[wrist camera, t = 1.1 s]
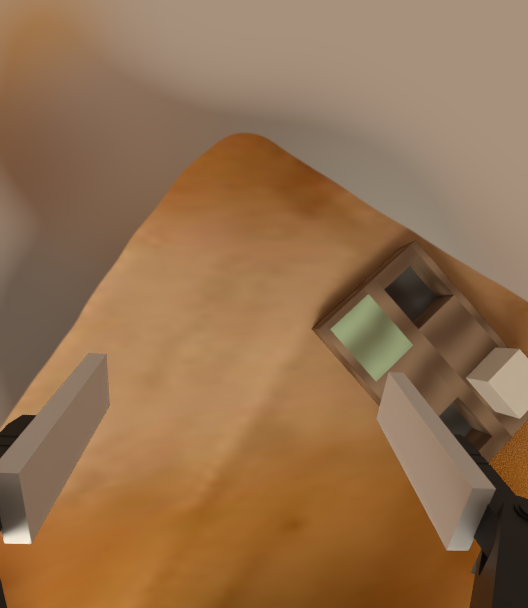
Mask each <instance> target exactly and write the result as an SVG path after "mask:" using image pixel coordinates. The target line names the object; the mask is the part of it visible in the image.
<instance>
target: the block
mask: <svg viewBox="0 0 528 608" xmlns="http://www.w3.org/2000/svg"><path fill="white" fill-rule="evenodd" d="M466 379H467V380H468V381H469V382H470V383H471V385H472V386H473V387H474V388H475V389H476V390H477V391H478V393H479V394H480V395H481V396H482V397H483V398H484V399H485V401H486V402H487V403H488V404H489V405H490V406H491V407H492V409H493V410H494V411H495V412H498V413H502V414H505V415H508V416H512V417H515V418H519V419H520V418H521V417H522V416H523V415H524V414H525V413H526V412H527V411H528V358H527V357H526V356H525V354H524V353H523V352H522V351H521V350H520V349H513V348H494V349H493V350H492V351H491V352H490V353H489V354H488V355H487V357H486V358H485V359H484V360H483V361H482V362H481V363H480V364H479V365H478V366H477V367H476V368H475V369H474V370H473V371H472V372H471V373H470V374H469V375H468V376H467V377H466Z"/></svg>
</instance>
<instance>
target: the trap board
mask: <svg viewBox="0 0 528 608" xmlns="http://www.w3.org/2000/svg"><path fill="white" fill-rule="evenodd" d="M312 330H313V331H314V332H315V333H316V334H317V335H318V337H319V338H320V339H321V340H322V341H323V342H324V343H325V345H326V346H327V347H328V348H329V349H330V350H331V351H332V353H333V354H334V355H335V356H336V357H337V358H338V359H339V361H340V362H341V363H342V364H343V365H344V366H345V367H346V369H347V370H348V371H349V372H350V373H351V374H352V375H353V377H354V378H355V379H356V380H357V381H358V382H359V383H360V384H361V386H362V387H363V388H364V389H365V390H366V391H367V392H368V394H369V395H370V396H371V397H372V398H373V399H374V400H375V402H376V403H377V404H378V405H379V406H380V403H381V399H382V395H383V391H384V388H385V384H386V380H387V376H388V372H397V373H404V374H405V375H406V376H407V378H408V379H409V380H410V381H411V383H412V384H413V385H414V386H415V388H416V389H417V390H418V391H419V393H420V394H421V395H422V396H423V398H424V399H425V400H426V401H427V403H428V404H429V405H430V406H431V408H432V409H433V410H434V412H435V413H436V414H437V415H438V417H439V418H440V419H441V420H442V422H443V423H444V424H445V425H446V427H447V428H448V429H449V430H450V432H451V433H452V434H460V435H461V436H463V437H464V438H465V439H467V440H468V441H469V442H471V443H472V444H473V445H474V446H475V447H476V449H477V450H478V451H479V452H480V453H481V456H482V457H484V458H485V459H486V461H487V462H488V463H489V462H490V461H491V459H492V458H493V457H494V456H495V455H496V454H497V453H498V452H499V451H500V450H501V449H502V447H503V446H504V445H505V444H506V443H507V442H508V441H509V440H510V439H511V438H512V437H513V435H514V434H515V433H516V432H517V431H518V430H519V429H520V428H521V427H522V426H523V425H524V423H525V422H526V421H527V420H528V411H527V412H526V413H525V414H524V415H523V416H522V417H521V418H520V419H519V418H515V417H512V416H508V415H505V414H502V413H498V412H495V411H494V410H493V409H492V407H491V406H490V405H489V404H488V403H487V402H486V401H485V399H484V398H483V397H482V396H481V395H480V394H479V393H478V391H477V390H476V389H475V388H474V387H473V386H472V385H471V383H470V382H469V381H468V380H467V379H466V377H467V376H468V375H469V374H470V373H471V372H472V371H473V370H474V369H475V368H476V367H477V366H478V365H479V364H480V363H481V362H482V361H483V360H484V359H485V358H486V357H487V355H488V354H489V353H490V352H491V351H492V350H493V349H494V348H509V347H508V346H507V345H506V344H505V342H504V341H503V340H502V339H501V338H500V337H499V336H498V334H497V333H496V332H495V331H494V330H493V329H492V328H491V326H490V325H489V324H488V323H487V322H486V321H485V319H484V318H483V317H482V316H481V315H480V314H479V313H478V311H477V310H476V309H475V308H474V307H473V306H472V305H471V303H470V302H469V301H468V300H467V299H466V298H465V296H464V295H463V294H462V293H461V292H460V291H459V290H458V288H457V287H456V286H455V285H454V284H453V283H452V282H451V280H450V279H449V278H448V277H447V276H446V275H445V273H444V272H443V271H442V270H441V269H440V268H439V267H438V265H437V264H436V263H435V262H434V261H433V260H432V259H431V257H430V256H429V255H428V254H427V253H426V252H425V250H424V249H423V248H422V247H421V246H420V245H419V244H418V242H417V241H416V240H415V241H413V242H411V243H409V244H407V245H405V246H403V247H401V248H400V249H399V250H398V251H396V252H395V253H394V254H393V255H392V256H391V257H390V258H389V259H388V260H387V261H386V262H384V263H383V264H382V265H381V266H380V267H379V268H378V269H377V270H376V271H375V272H374V273H372V274H371V275H370V276H369V277H368V278H367V279H366V280H365V281H364V282H363V283H362V284H361V285H359V286H358V287H357V288H356V289H355V290H354V291H353V292H352V293H351V294H350V295H349V296H347V297H346V298H345V299H344V300H343V301H342V302H341V303H340V304H339V305H338V306H337V307H335V308H334V309H333V310H332V311H331V312H330V313H329V314H328V315H327V316H326V317H325V318H323V319H322V320H321V321H320V322H319V323H318V324H317V325H316V326H315V327H314V328H313V329H312Z"/></svg>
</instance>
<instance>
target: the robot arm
mask: <svg viewBox="0 0 528 608" xmlns="http://www.w3.org/2000/svg"><path fill="white" fill-rule="evenodd" d="M109 406H110V404H109V387H108V370H107V354H94V353H89V354H88V355H87V356H86V357H85V358H84V360H83V361H82V362H81V363H80V364H79V365H78V367H77V368H76V369H75V370H74V371H73V373H72V374H71V375H70V376H69V377H68V379H67V380H66V381H65V382H64V383H63V385H62V386H61V387H60V388H59V389H58V390H57V392H56V393H55V394H54V395H53V396H52V398H51V399H50V400H49V401H48V402H47V404H46V405H45V406H44V407H43V408H42V410H41V411H40V412H39V413H38V414H37V415H22V416H20V417H18V418H17V419H15V420H14V421H12V422H11V423H9V424H8V425H7V426H6V427H5V428H4V429H3V430H2V431H1V432H0V531H1V530H2V535H3V540H4V543H11V544H32V542H33V540H34V538H35V537H36V535H37V533H38V531H39V530H40V528H41V526H42V524H43V522H44V521H45V519H46V517H47V515H48V514H49V512H50V510H51V508H52V507H53V505H54V503H55V501H56V499H57V498H58V496H59V494H60V492H61V491H62V489H63V487H64V485H65V484H66V482H67V480H68V478H69V476H70V475H71V473H72V471H73V469H74V468H75V466H76V464H77V462H78V461H79V459H80V457H81V455H82V453H83V452H84V450H85V448H86V446H87V445H88V443H89V441H90V439H91V437H92V436H93V434H94V432H95V430H96V429H97V427H98V425H99V423H100V422H101V420H102V418H103V416H104V414H105V413H106V411H107V409H108V407H109ZM376 419H377V421H378V423H379V425H380V427H381V429H382V430H383V432H384V434H385V436H386V438H387V440H388V442H389V444H390V445H391V447H392V449H393V451H394V453H395V455H396V457H397V458H398V460H399V462H400V464H401V466H402V468H403V470H404V472H405V473H406V475H407V477H408V479H409V481H410V483H411V485H412V486H413V488H414V490H415V492H416V494H417V496H418V498H419V499H420V501H421V503H422V505H423V507H424V509H425V511H426V513H427V514H428V516H429V518H430V520H431V522H432V524H433V526H434V527H435V529H436V531H437V533H438V535H439V537H440V539H441V540H442V542H443V544H444V546H445V548H446V550H451V551H469V549H470V546H471V544H472V542H473V540H474V538H475V539H476V541H477V542H478V544H479V546H480V547H481V549H482V550H481V552H480V554H479V556H478V558H477V560H476V563H475V565H474V567H473V569H472V571H471V573H473V574H475V579H474V585H473V591H472V597H471V602H470V608H528V499H526V498H523V497H520V496H516V495H515V494H514V493H513V492H512V490H511V489H510V488H509V487H508V486H507V484H506V483H505V482H504V481H503V480H502V478H501V477H500V476H499V475H498V474H497V472H496V471H495V470H494V469H493V468H492V467H491V465H489V463H488V462H487V461H486V459H485V458H484V457H482V456H481V453H480V452H479V451H478V450H477V449H476V447H475V446H474V445H473V444H472V443H471V442H469V441H468V440H467V439H465V438H464V437H463V436H461V435H460V434H452V433H451V432H450V430H449V429H448V428H447V427H446V425H445V424H444V423H443V422H442V420H441V419H440V418H439V417H438V415H437V414H436V413H435V412H434V410H433V409H432V408H431V406H430V405H429V404H428V403H427V401H426V400H425V399H424V398H423V396H422V395H421V394H420V393H419V391H418V390H417V389H416V388H415V386H414V385H413V384H412V383H411V381H410V380H409V379H408V378H407V376H406V375H405V374H404V373H397V372H388V376H387V380H386V384H385V388H384V391H383V395H382V399H381V403H380V407H379V410H378V414H377V418H376ZM0 608H7V605H6V601H5V597H4V593H3V588H2V584H1V580H0Z"/></svg>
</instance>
